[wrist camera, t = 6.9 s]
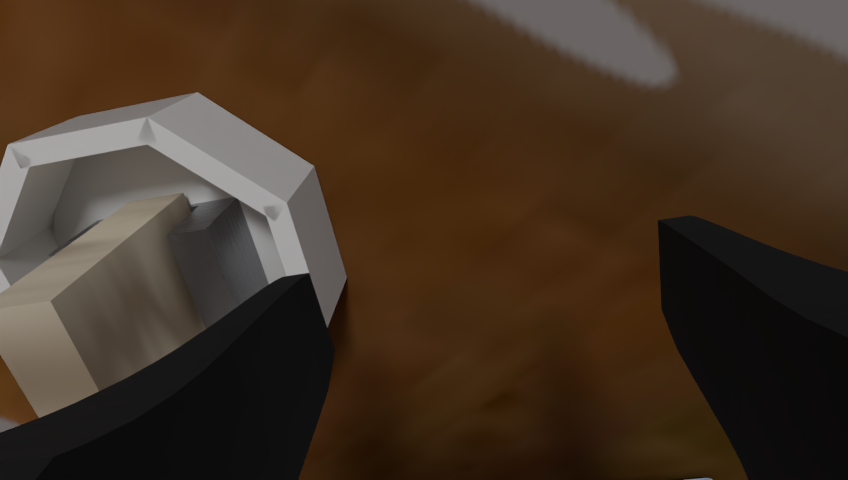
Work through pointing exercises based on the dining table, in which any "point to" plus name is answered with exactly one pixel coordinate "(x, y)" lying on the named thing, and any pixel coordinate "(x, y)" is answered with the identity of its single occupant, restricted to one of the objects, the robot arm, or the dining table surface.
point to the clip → (213, 257)
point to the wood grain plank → (99, 307)
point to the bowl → (165, 186)
